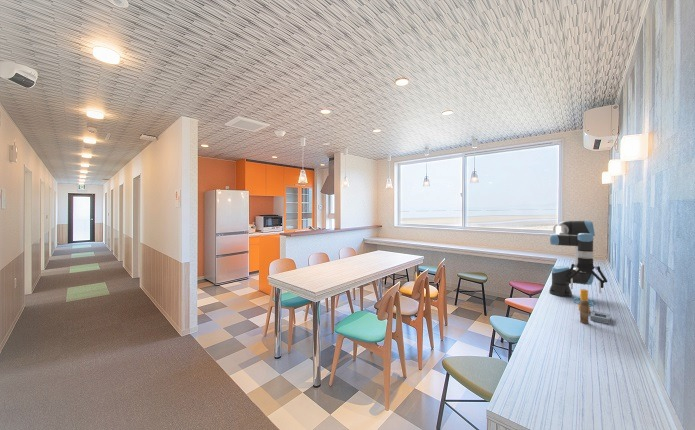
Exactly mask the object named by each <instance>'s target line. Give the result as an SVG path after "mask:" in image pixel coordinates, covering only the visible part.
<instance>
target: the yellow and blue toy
mask: <svg viewBox="0 0 695 430" xmlns="http://www.w3.org/2000/svg"><path fill="white" fill-rule="evenodd" d="M579 291H580V296H578V297H574V298H573V299H572V302H573V303H575V305H576V304H577V305H578V310H579V311H580V300H586V301H588V302H589V313H591V311H590V310H591V307H592V306H593V307H594V306H596V301H595V299H589V290H588V289H586V288H585V289H584V288H580V290H579ZM575 300H577V302H576V301H575ZM591 301H592V302H593V303H592V302H591Z"/></svg>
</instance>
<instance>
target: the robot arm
mask: <svg viewBox="0 0 695 430" xmlns="http://www.w3.org/2000/svg"><path fill="white" fill-rule="evenodd" d="M552 228H553V229H552V230H553V233H551V234H550V235H549V236H550V238H549V243H550V245H551V246H565V247H566V246H567V247H568V246H569V247H574V263H572V264H571V265H570V267H569V266H565V265H558V266H557V265H556V266H553V267H552V268H551V285H550V287H549V291H548V293H549V294H551V295H553V294H554V296H557V297H568V298H569V297H572V296H573V292H572V290H573V289H574V284H576V285H578V284H579V285H588V286H591V285H592V284H593V282H594V278H596V279H597V280H598V281H599V282H598V293H599V294H602V289H603V288H604V284H605V283H608V279H607V278H606V276H605V274H604V273H603V271H602V269H601V266H594V237H595V236H596V234H595V233H596V232H595V228H594V223H593V221H591V220H563V221H560V222H557V223H556V224H555V225H554V226H553V227H552ZM594 269H595V270H596V271H597V272H598V274H599V275H598V274H597V273H596V272H595V271H594Z"/></svg>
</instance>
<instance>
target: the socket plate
mask: <svg viewBox="0 0 695 430" xmlns="http://www.w3.org/2000/svg"><path fill="white" fill-rule="evenodd" d="M590 321H592V322H597V323H601V324H606V323H608V324H607V325H610V324H611V313H607V312H601V311H596V310H591V312H590Z"/></svg>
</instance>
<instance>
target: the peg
mask: <svg viewBox="0 0 695 430" xmlns="http://www.w3.org/2000/svg"><path fill="white" fill-rule="evenodd" d="M589 303H590V302H588V301H586V300H580V310H579V312H580V314H579V315H580V316H579V318H580V319H579V321H580V323H581V324H584V325H588V324H589V322H590V321H589V316H590V315H589V313H590V312H589V306H590V305H589Z"/></svg>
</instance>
